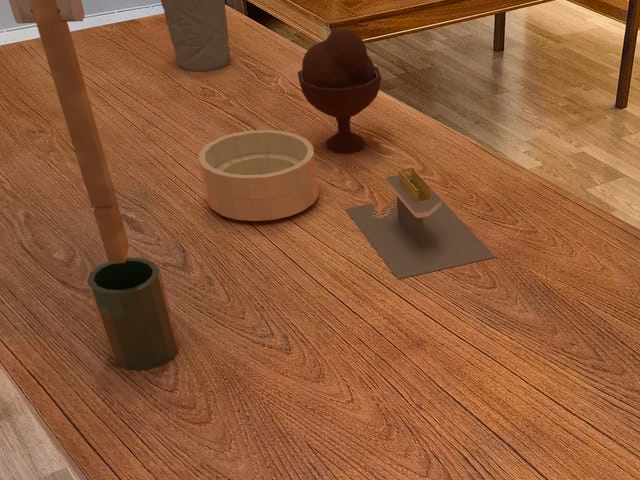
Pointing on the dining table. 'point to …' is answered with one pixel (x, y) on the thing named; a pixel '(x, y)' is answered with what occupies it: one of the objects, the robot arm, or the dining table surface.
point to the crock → (134, 313)
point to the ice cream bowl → (340, 84)
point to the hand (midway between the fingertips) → (51, 20)
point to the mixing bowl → (259, 175)
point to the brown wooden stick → (81, 127)
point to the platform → (418, 230)
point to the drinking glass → (198, 33)
